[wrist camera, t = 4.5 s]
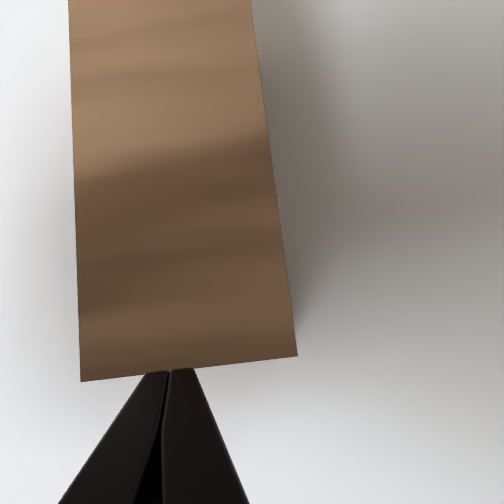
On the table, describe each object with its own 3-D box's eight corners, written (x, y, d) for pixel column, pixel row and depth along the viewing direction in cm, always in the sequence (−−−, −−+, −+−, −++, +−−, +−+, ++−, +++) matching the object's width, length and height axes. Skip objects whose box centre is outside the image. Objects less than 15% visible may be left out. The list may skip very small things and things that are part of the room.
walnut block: (297, 356, 10) (240, -69, 13) (80, 382, 10) (66, -52, 13) (283, 355, 15) (243, 46, 18) (135, 372, 15) (117, 59, 18)
